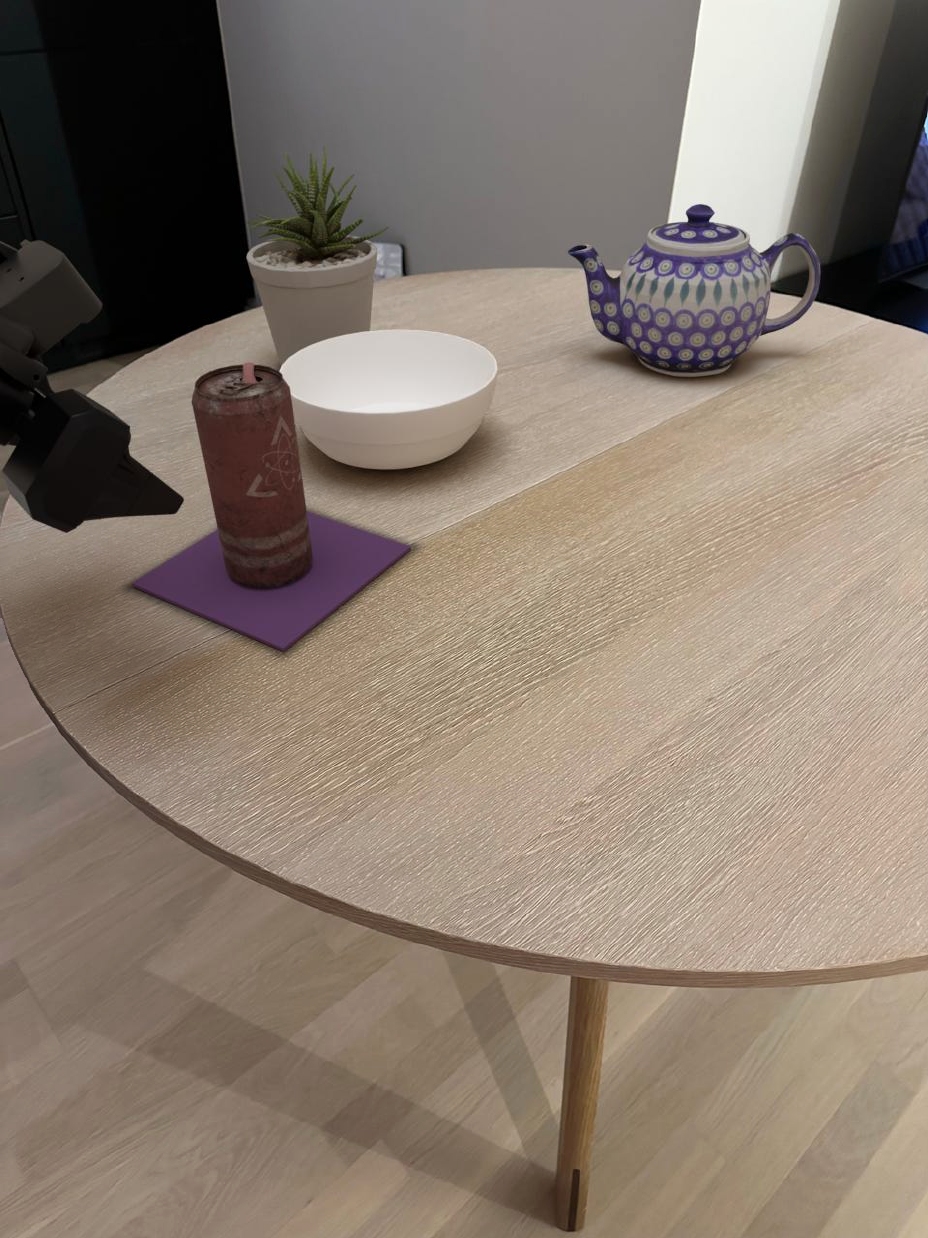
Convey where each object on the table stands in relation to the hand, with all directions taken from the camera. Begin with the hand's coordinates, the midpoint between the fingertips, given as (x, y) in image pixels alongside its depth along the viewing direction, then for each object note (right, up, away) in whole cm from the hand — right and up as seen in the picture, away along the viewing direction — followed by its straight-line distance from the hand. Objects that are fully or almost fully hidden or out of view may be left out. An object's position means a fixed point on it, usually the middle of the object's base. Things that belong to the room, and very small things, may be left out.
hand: (146, 477), depth 57 cm
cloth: (+6, -5, +10) cm, 12 cm away
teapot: (+42, +18, +40) cm, 61 cm away
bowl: (+13, +6, +25) cm, 29 cm away
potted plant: (+5, +18, +40) cm, 45 cm away
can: (+6, -5, +9) cm, 12 cm away
